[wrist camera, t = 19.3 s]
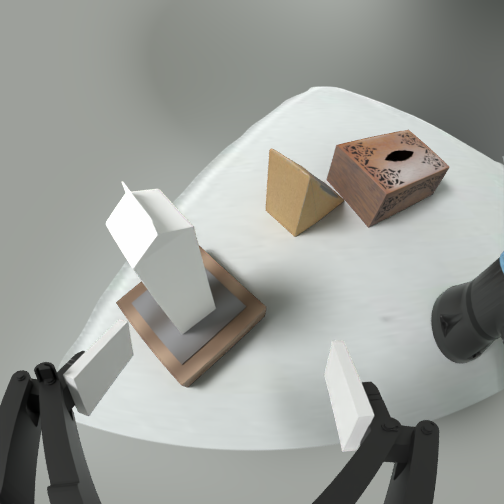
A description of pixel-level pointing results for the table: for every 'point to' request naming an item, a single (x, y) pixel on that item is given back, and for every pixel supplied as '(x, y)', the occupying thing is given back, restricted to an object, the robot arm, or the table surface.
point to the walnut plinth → (201, 334)
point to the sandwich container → (296, 195)
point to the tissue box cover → (385, 174)
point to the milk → (163, 254)
